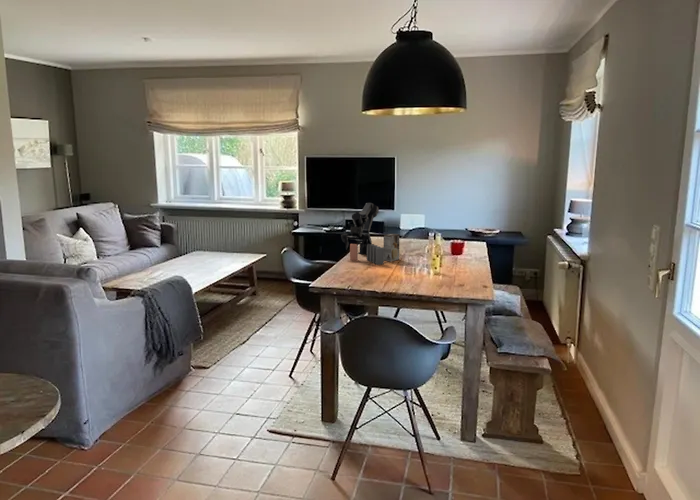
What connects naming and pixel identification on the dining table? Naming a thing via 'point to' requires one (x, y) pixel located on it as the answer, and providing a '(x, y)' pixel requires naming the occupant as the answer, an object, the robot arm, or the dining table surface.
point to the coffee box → (391, 247)
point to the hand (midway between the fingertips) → (353, 249)
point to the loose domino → (353, 251)
